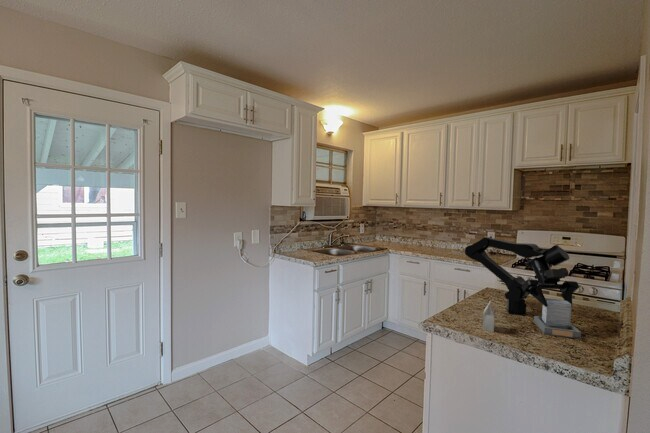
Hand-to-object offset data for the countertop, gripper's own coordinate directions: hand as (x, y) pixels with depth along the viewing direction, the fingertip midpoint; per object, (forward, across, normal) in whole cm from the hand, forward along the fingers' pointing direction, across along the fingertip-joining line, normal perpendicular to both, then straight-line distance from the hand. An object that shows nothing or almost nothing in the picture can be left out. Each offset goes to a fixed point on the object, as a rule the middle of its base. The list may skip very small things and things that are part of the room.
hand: (558, 306), depth 118 cm
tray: (+6, 0, +7) cm, 9 cm away
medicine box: (+4, 0, +6) cm, 7 cm away
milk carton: (+7, -25, +7) cm, 27 cm away
